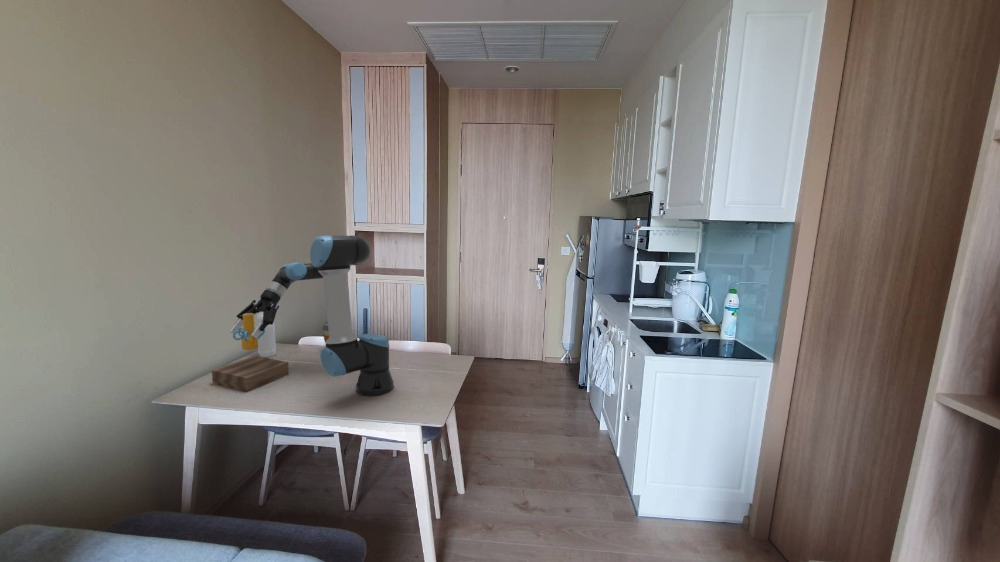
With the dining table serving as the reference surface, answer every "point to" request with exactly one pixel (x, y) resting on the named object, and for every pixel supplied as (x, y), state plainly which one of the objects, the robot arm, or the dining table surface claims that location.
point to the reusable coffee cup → (326, 331)
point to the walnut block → (250, 373)
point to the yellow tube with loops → (248, 333)
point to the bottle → (266, 339)
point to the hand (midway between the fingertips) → (243, 335)
